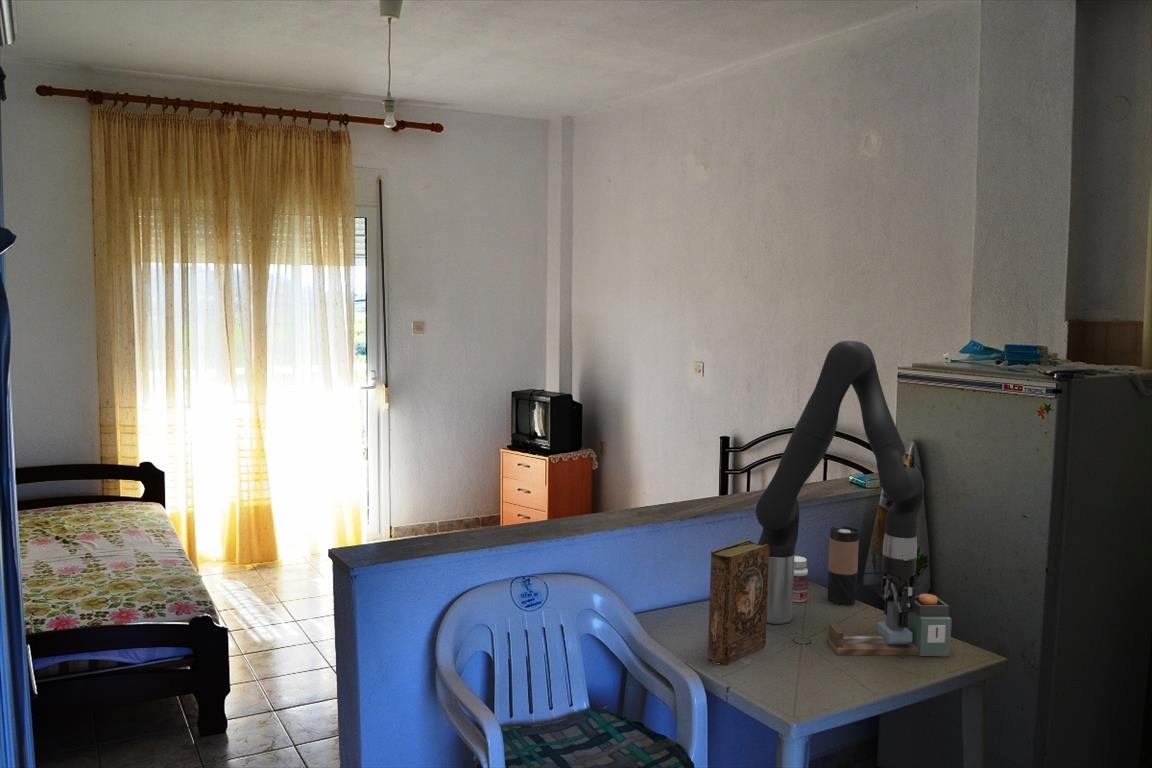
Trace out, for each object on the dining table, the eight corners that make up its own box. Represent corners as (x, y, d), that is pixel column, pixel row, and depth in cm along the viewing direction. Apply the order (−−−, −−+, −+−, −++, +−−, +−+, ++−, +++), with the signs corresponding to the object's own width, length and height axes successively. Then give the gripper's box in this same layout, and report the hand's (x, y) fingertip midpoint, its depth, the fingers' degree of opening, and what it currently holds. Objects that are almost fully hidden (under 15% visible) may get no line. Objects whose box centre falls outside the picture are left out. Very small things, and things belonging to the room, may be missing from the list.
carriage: (888, 646, 211) (890, 608, 210) (877, 635, 218) (879, 598, 217) (911, 646, 212) (914, 608, 211) (899, 635, 219) (901, 598, 218)
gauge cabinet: (920, 657, 210) (923, 609, 209) (902, 639, 220) (904, 593, 219) (950, 657, 210) (953, 609, 209) (930, 639, 221) (932, 593, 220)
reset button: (923, 607, 212) (923, 599, 212) (915, 601, 216) (916, 593, 216) (939, 607, 213) (940, 599, 212) (932, 601, 217) (932, 593, 216)
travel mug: (851, 608, 242) (855, 534, 239) (822, 602, 246) (826, 530, 243) (859, 600, 248) (862, 528, 246) (831, 594, 252) (834, 524, 250)
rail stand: (837, 655, 210) (838, 634, 210) (826, 642, 218) (827, 621, 218) (918, 654, 211) (919, 634, 211) (903, 641, 219) (904, 621, 219)
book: (724, 666, 203) (727, 558, 201) (704, 659, 207) (707, 552, 204) (765, 647, 215) (769, 543, 212) (746, 640, 219) (750, 539, 216)
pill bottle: (811, 600, 247) (813, 559, 246) (796, 604, 244) (797, 563, 243) (794, 593, 252) (796, 554, 251) (779, 597, 249) (780, 557, 248)
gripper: (872, 544, 220) (868, 610, 221) (896, 562, 205) (892, 633, 207) (902, 544, 220) (898, 610, 222) (928, 562, 206) (924, 632, 208)
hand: (895, 621), depth 214 cm, fingers open, 7 cm apart
